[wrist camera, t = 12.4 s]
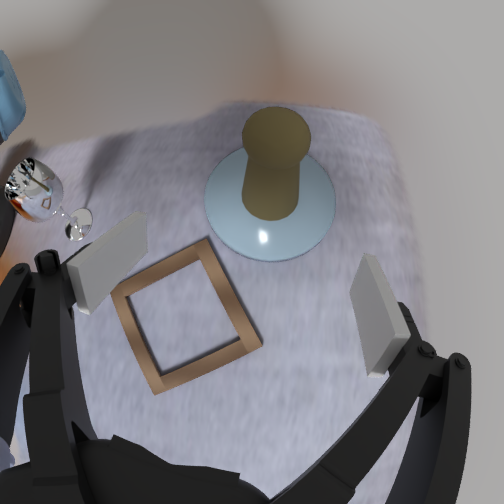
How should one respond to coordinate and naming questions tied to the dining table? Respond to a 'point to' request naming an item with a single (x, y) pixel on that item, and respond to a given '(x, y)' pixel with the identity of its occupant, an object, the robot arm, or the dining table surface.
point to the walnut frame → (223, 291)
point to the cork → (273, 162)
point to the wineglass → (43, 197)
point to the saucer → (261, 231)
